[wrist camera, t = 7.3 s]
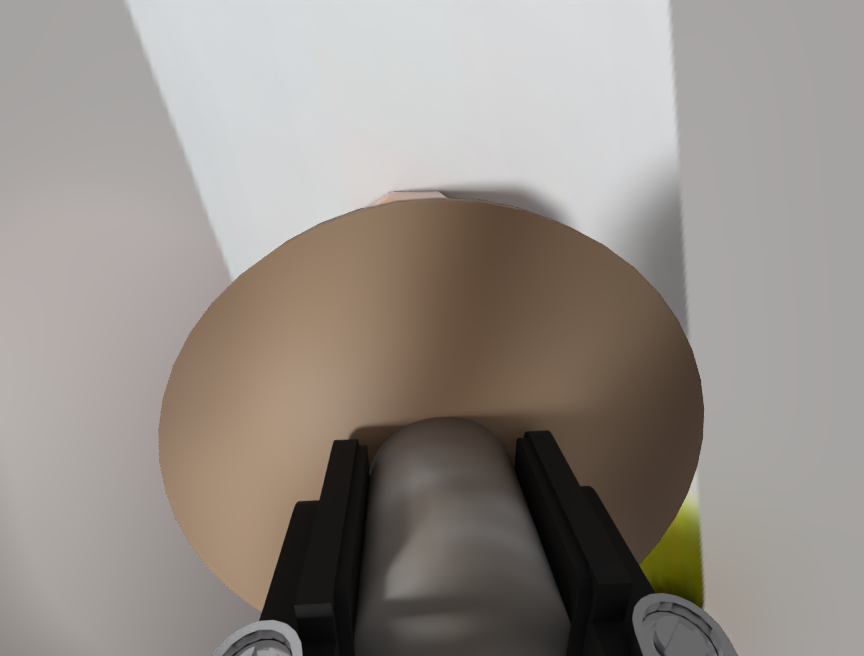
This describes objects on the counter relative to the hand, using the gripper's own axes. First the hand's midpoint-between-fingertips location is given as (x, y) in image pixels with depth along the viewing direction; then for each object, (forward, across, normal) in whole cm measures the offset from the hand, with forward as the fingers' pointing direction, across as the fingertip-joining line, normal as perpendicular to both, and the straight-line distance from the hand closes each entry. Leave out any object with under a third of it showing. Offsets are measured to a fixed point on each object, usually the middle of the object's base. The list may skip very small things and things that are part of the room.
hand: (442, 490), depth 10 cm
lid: (+1, 0, 0) cm, 1 cm away
